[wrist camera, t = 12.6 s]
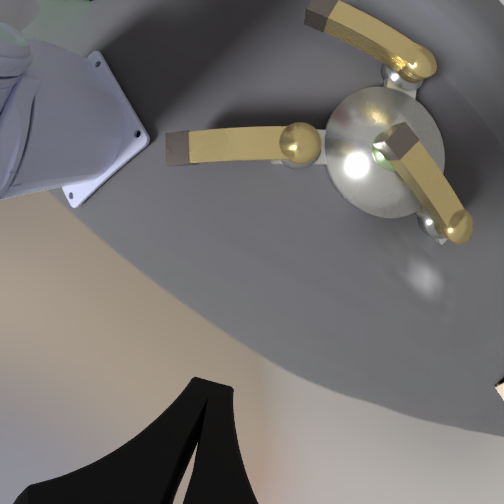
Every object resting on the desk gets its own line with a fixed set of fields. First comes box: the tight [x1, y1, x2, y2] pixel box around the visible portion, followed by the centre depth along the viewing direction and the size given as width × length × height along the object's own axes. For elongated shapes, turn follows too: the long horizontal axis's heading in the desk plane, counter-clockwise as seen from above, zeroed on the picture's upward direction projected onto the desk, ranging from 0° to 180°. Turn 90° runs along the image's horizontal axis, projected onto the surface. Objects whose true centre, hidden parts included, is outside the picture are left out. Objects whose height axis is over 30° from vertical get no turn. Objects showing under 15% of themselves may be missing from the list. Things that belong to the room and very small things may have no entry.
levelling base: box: [271, 64, 447, 245], centre depth 15 cm, size 13×12×1 cm
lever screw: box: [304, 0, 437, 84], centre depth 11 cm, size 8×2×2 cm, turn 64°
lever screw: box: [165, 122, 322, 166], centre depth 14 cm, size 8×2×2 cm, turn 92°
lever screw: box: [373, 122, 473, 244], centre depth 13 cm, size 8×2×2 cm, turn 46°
